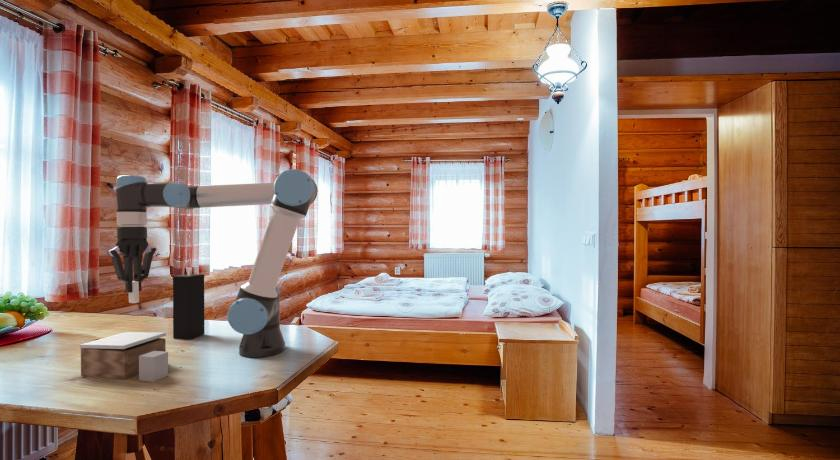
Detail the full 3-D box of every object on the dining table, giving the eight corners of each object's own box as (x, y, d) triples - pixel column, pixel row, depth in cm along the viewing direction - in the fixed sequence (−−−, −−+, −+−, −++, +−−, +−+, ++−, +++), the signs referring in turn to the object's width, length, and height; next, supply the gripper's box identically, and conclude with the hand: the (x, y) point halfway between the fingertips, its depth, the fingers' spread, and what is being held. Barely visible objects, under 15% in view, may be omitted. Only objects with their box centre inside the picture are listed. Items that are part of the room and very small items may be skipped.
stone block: (168, 375, 118) (168, 351, 118) (153, 381, 113) (153, 357, 113) (154, 374, 119) (154, 350, 119) (139, 380, 114) (138, 356, 114)
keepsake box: (165, 363, 128) (165, 338, 128) (124, 379, 114) (124, 351, 114) (125, 359, 131) (125, 335, 131) (80, 374, 118) (80, 348, 118)
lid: (165, 335, 128) (165, 332, 128) (123, 349, 114) (123, 345, 114) (125, 335, 132) (125, 332, 132) (80, 348, 117) (79, 344, 117)
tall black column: (189, 339, 154) (189, 268, 154) (172, 338, 156) (172, 267, 156) (204, 334, 162) (204, 266, 162) (188, 333, 164) (187, 265, 163)
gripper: (147, 226, 129) (149, 298, 130) (100, 226, 118) (102, 305, 118) (161, 225, 126) (162, 299, 126) (114, 226, 114) (116, 307, 115)
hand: (133, 302), depth 122 cm, fingers closed
